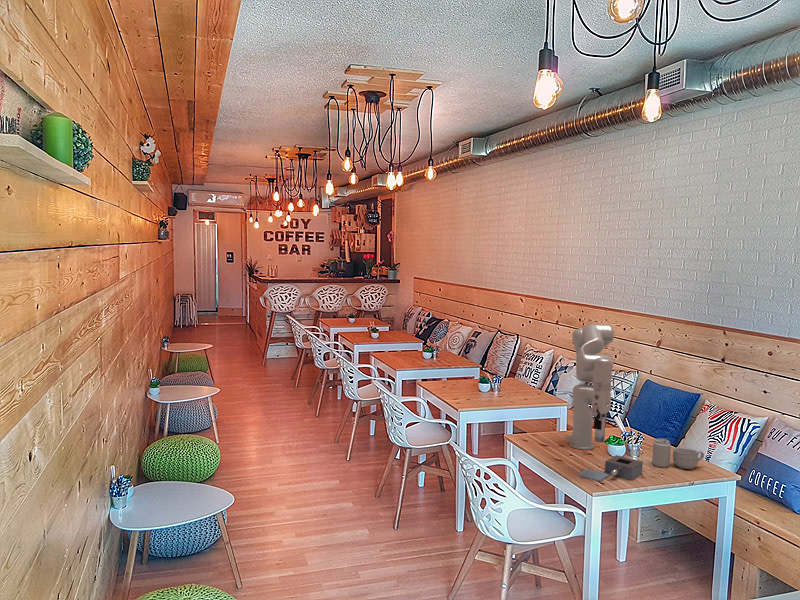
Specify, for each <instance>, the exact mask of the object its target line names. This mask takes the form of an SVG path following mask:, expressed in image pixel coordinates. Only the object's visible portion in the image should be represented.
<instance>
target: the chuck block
mask: <svg viewBox="0 0 800 600" xmlns="http://www.w3.org/2000/svg"><path fill="white" fill-rule="evenodd" d="M604 463H605V464H604V473H606V474H610V475H609V476H612V477H613V476H614V477H617V478H620V477H621V478H620V479H625V480H627V481H628V480H629V481H633V480H635V479H636V478H638V477H640V476H641V475H642V474H643V461H642V460H637V459H634V458H629V457H625V456H621V455H617V454H615V455H614V456H612V457H610V458H609V459H607V460H605V461H604ZM640 474H641V475H640ZM637 476H638V477H637ZM634 478H635V479H634Z"/></svg>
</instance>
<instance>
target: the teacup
mask: <svg viewBox="0 0 800 600" xmlns="http://www.w3.org/2000/svg"><path fill="white" fill-rule="evenodd" d="M699 454H701V455H700V457H699ZM704 457H705V453H704V452H703V451H701V450H696V449H693V448H689V447H688V448H686V447H676V448H675V447H674V448H673V449H672V458H673V459H672V461H673V463H674V465H676V466H677V467H678V468H680V469H685V470H692V469H694V468H696V467H697V466H698V463H699V462H700V461H702V460H703V459H704Z"/></svg>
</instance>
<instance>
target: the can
mask: <svg viewBox="0 0 800 600" xmlns="http://www.w3.org/2000/svg"><path fill="white" fill-rule="evenodd" d="M671 448H672V445H671V443H670V441H669V440H668V439H666V438H654V441H653V443H652V456H651V457H652V458H651V459H652V460H651V463H652V464H653V466H655V465H656V466H655V467H657V466H659V467H658V468H668V467H669V466H670V463H671V462H670V461H671Z"/></svg>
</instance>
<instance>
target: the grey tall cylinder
mask: <svg viewBox="0 0 800 600" xmlns="http://www.w3.org/2000/svg"><path fill="white" fill-rule="evenodd" d="M597 413H599V412H598V411H597ZM597 415H599V414H597ZM606 415H607V414H606V413H605V414H602V415H601V421H602V426H601V430H599V429H594V441H595V442H597V443H605V433H606V427H605V418H606V419H607V417H606Z"/></svg>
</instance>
